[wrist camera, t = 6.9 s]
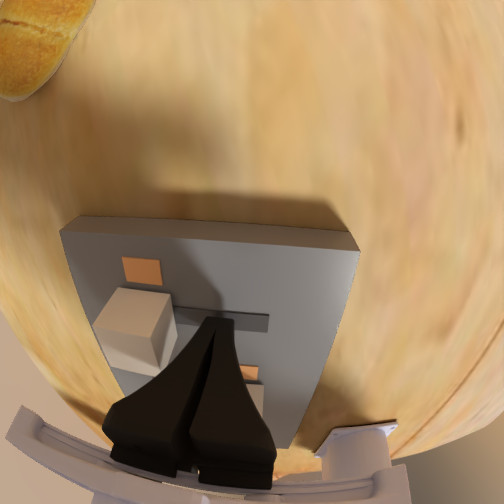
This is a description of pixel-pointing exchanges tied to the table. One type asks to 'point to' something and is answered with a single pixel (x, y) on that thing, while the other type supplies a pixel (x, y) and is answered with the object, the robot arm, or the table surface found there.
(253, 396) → the slider middle
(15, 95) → the bread roll
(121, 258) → the switch panel
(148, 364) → the block
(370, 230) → the table surface
